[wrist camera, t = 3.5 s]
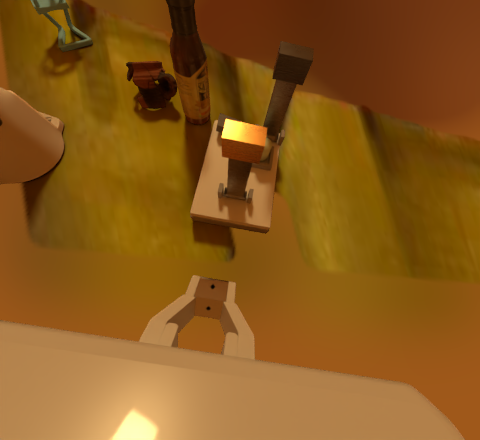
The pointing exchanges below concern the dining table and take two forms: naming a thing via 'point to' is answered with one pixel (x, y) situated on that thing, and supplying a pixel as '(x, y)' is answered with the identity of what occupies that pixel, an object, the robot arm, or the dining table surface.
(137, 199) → the dining table surface
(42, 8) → the chair
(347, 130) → the dining table surface
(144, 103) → the pottery mug
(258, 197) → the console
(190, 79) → the sauce bottle
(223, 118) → the block
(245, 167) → the lever orange
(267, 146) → the push button
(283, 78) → the lever black
